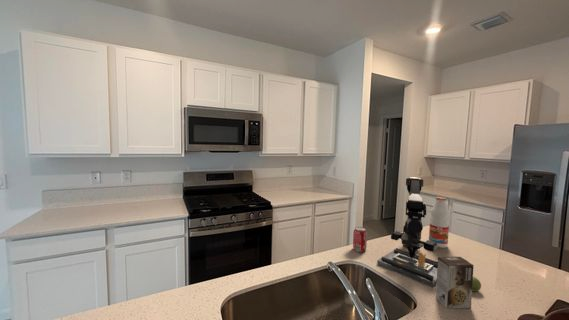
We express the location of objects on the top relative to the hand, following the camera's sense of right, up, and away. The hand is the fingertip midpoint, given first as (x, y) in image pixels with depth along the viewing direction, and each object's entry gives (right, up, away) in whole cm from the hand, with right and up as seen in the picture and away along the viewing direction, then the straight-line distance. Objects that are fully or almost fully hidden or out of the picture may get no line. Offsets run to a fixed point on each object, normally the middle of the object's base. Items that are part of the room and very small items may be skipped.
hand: (412, 258), depth 112 cm
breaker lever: (+3, -3, -3) cm, 5 cm away
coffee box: (+2, -6, -25) cm, 26 cm away
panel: (0, -4, 0) cm, 4 cm away
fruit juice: (+30, -3, +27) cm, 40 cm away
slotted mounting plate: (0, -2, 0) cm, 2 cm away
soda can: (-19, -3, +18) cm, 26 cm away
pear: (+15, -6, -14) cm, 21 cm away
